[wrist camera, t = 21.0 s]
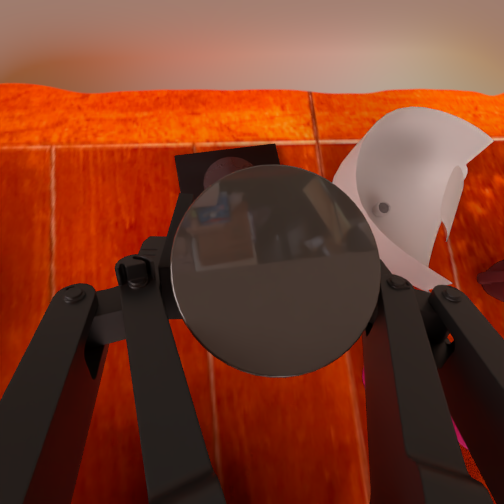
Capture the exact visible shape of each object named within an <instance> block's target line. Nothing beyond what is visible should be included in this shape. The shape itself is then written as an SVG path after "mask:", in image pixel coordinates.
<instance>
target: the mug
mask: <svg viewBox="0 0 504 504" xmlns="http://www.w3.org/2000/svg"><path fill="white" fill-rule="evenodd" d="M477 281H478V283H479V284H482V286H483V288H484V290H485V291H486V292H487V293H488V294H489V295H491V296H493V297H495V298H496V299H498V300H501V301H503V302H504V260H502V261H499V262H497V263H496V264H494V265H493V266H492V267H491V268H489V269H488V270H487V271H486V272H483V273H479V274H478V275H477Z"/></svg>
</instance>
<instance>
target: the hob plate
mask: <svg viewBox="0 0 504 504" xmlns="http://www.w3.org/2000/svg"><path fill="white" fill-rule="evenodd" d="M175 162H176V168H177V174H178V180H179V186H180V191H181V193H183V194H194V201H195V200H196V198H197V197H198V196H199V195H200V194H201V193H202V192H203V191H204V190H206V189H207V188H208V187H209V186H210V185H212V184H213V183H215V182H216V181H218V180H219V179H221V178H223V177H224V176H226V175H229V174H231V173H233V172H235V171H238V170H241V169H245V168H248V167H253V166H259V165H275V164H276V165H280V163H279V158H278V154H277V149H276V145H275V144H267V145H259V146H251V147H243V148H234V149H226V150H218V151H209V152H201V153H193V154H184V155H176V156H175Z"/></svg>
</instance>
